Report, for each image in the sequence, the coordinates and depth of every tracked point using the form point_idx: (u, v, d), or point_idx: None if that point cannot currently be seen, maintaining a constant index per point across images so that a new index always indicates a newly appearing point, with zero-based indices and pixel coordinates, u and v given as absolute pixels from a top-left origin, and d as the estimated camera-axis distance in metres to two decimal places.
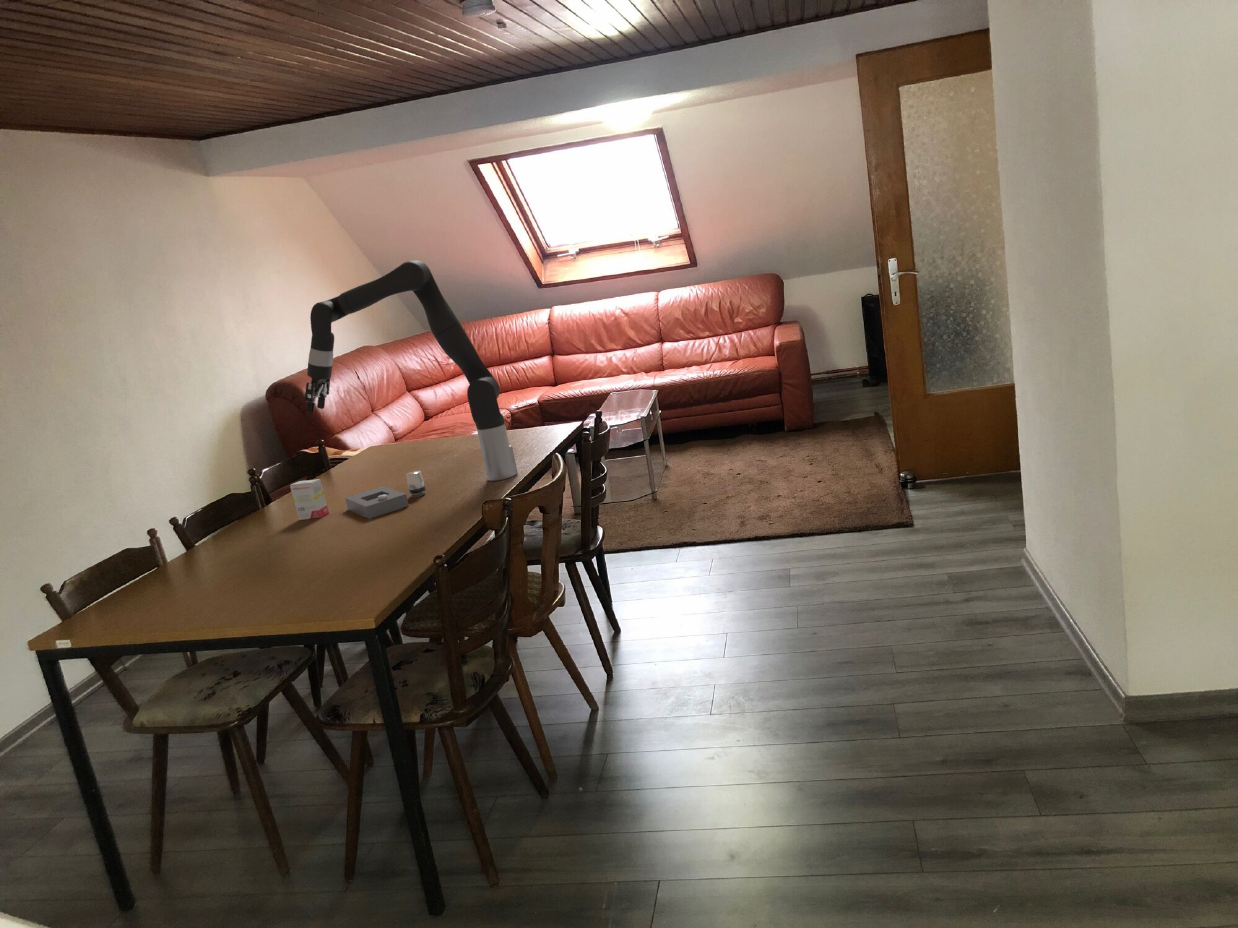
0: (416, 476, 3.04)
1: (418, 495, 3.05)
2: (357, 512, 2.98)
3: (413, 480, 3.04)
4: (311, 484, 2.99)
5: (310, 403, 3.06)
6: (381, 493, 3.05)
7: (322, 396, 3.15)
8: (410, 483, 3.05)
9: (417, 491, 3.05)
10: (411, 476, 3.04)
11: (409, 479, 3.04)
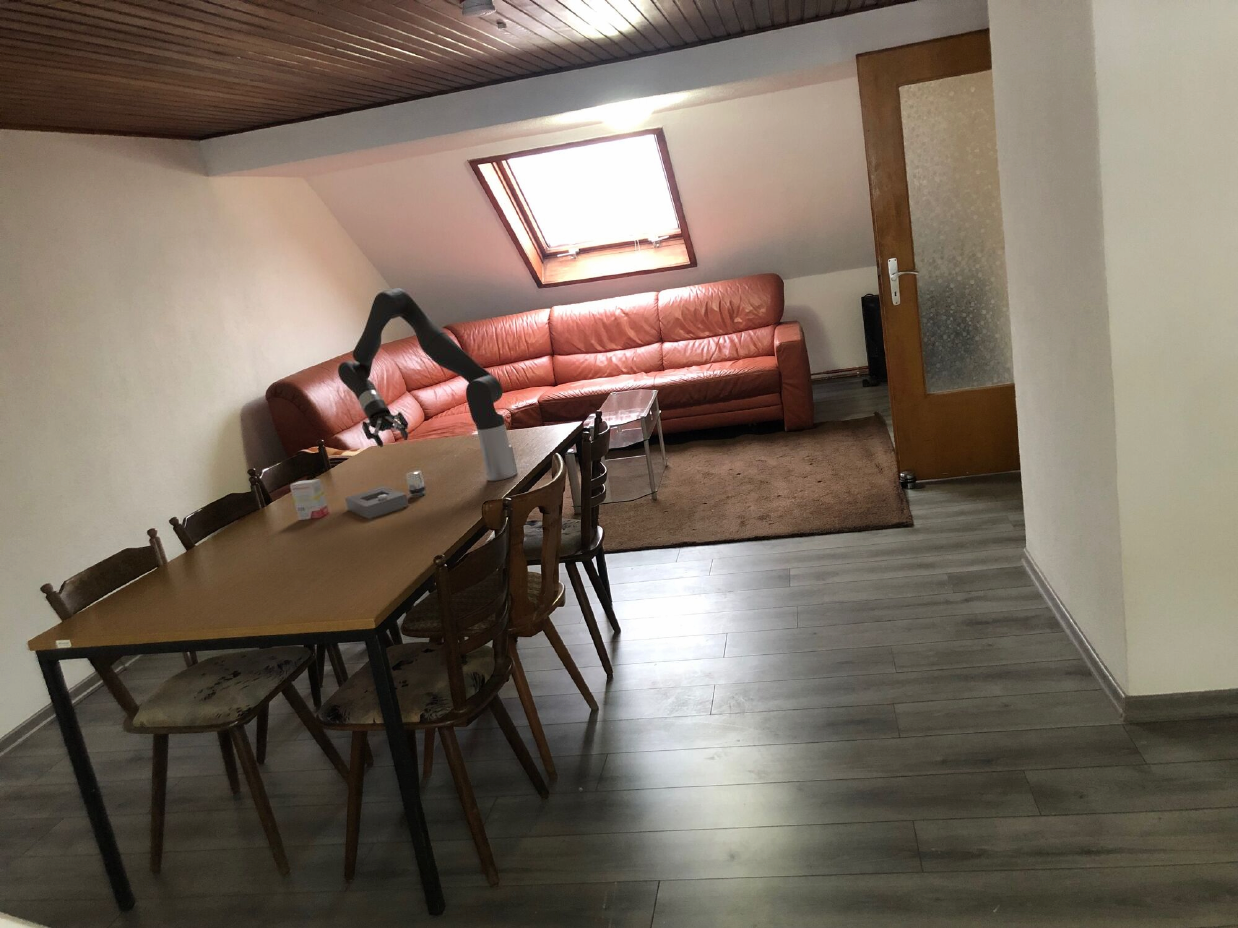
0: (416, 477, 3.04)
1: (418, 495, 3.05)
2: (357, 512, 2.98)
3: (413, 480, 3.04)
4: (311, 484, 2.99)
5: (374, 437, 3.11)
6: (381, 493, 3.05)
7: (400, 429, 3.16)
8: (410, 483, 3.05)
9: (417, 491, 3.05)
10: (411, 476, 3.04)
11: (409, 479, 3.04)
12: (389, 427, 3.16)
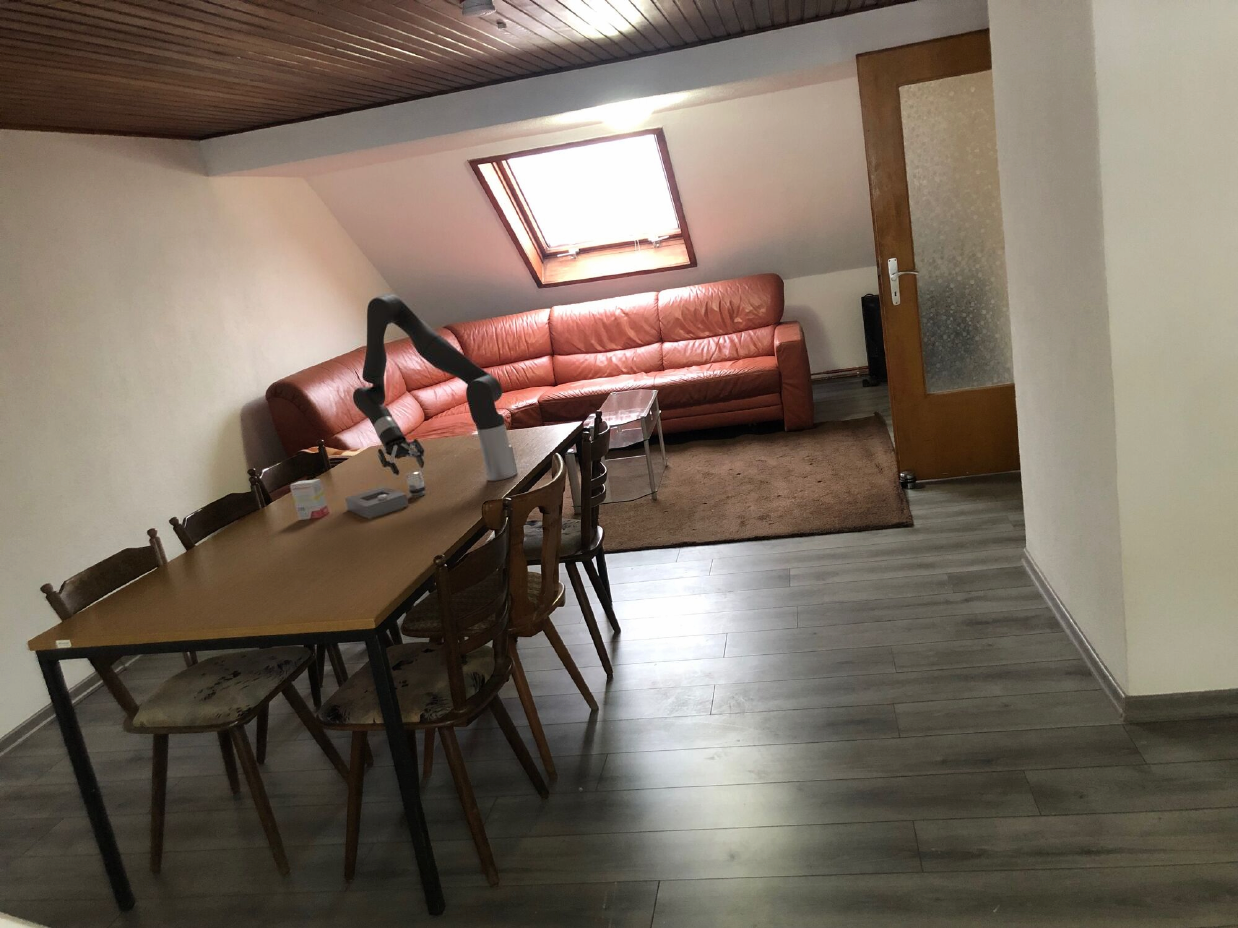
0: (416, 476, 3.04)
1: (418, 495, 3.05)
2: (357, 512, 2.98)
3: (413, 480, 3.04)
4: (311, 484, 2.99)
5: (390, 465, 3.06)
6: (381, 493, 3.05)
7: (416, 456, 3.11)
8: (410, 483, 3.05)
9: (417, 491, 3.05)
10: (411, 476, 3.04)
11: (409, 479, 3.04)
12: (405, 454, 3.11)
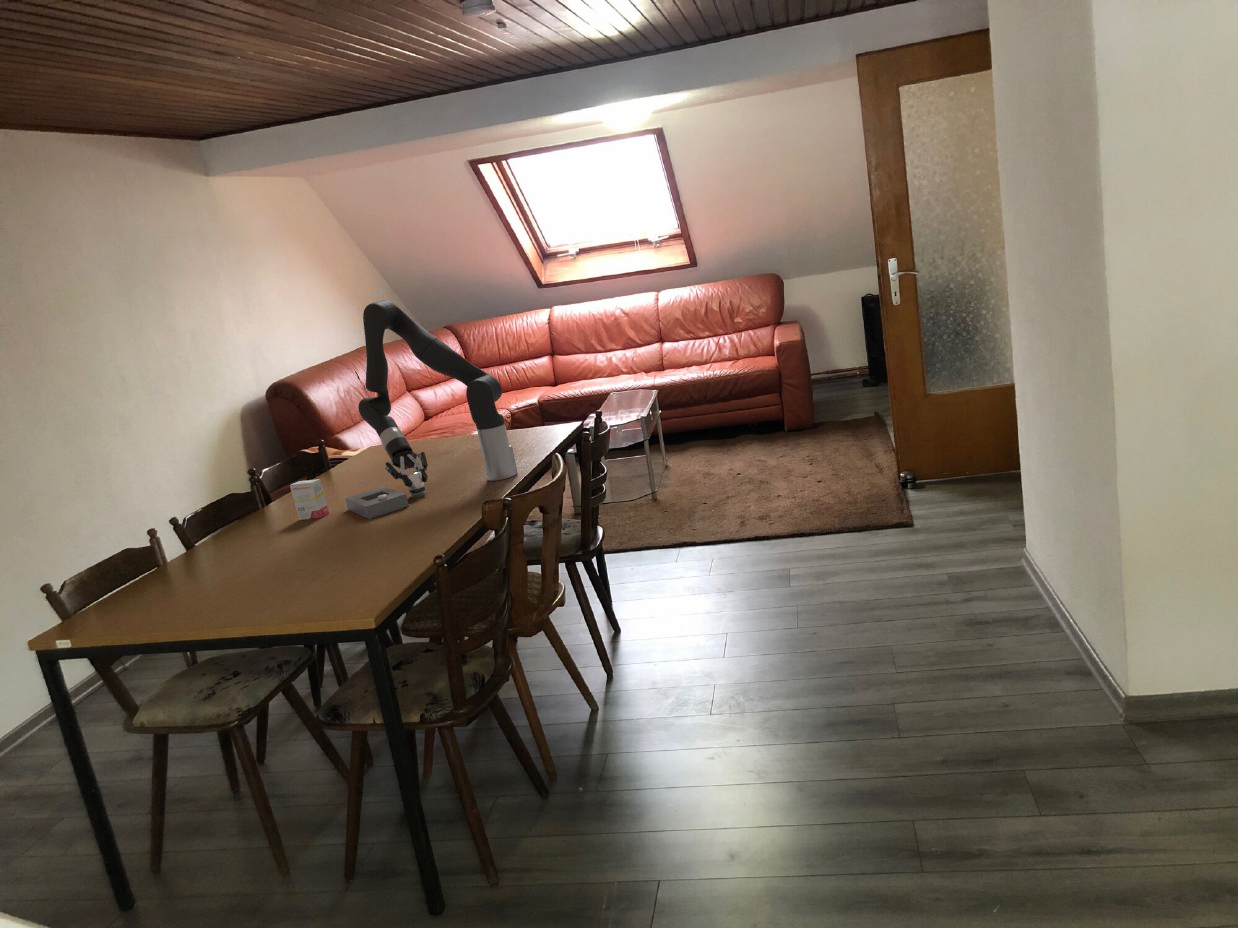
0: (416, 476, 3.04)
1: (418, 495, 3.05)
2: (357, 512, 2.98)
3: (413, 480, 3.04)
4: (311, 484, 2.99)
5: (401, 477, 3.05)
6: (381, 493, 3.05)
7: (419, 470, 3.08)
8: None
9: (417, 491, 3.05)
10: (411, 476, 3.04)
11: (409, 479, 3.04)
12: (409, 466, 3.08)
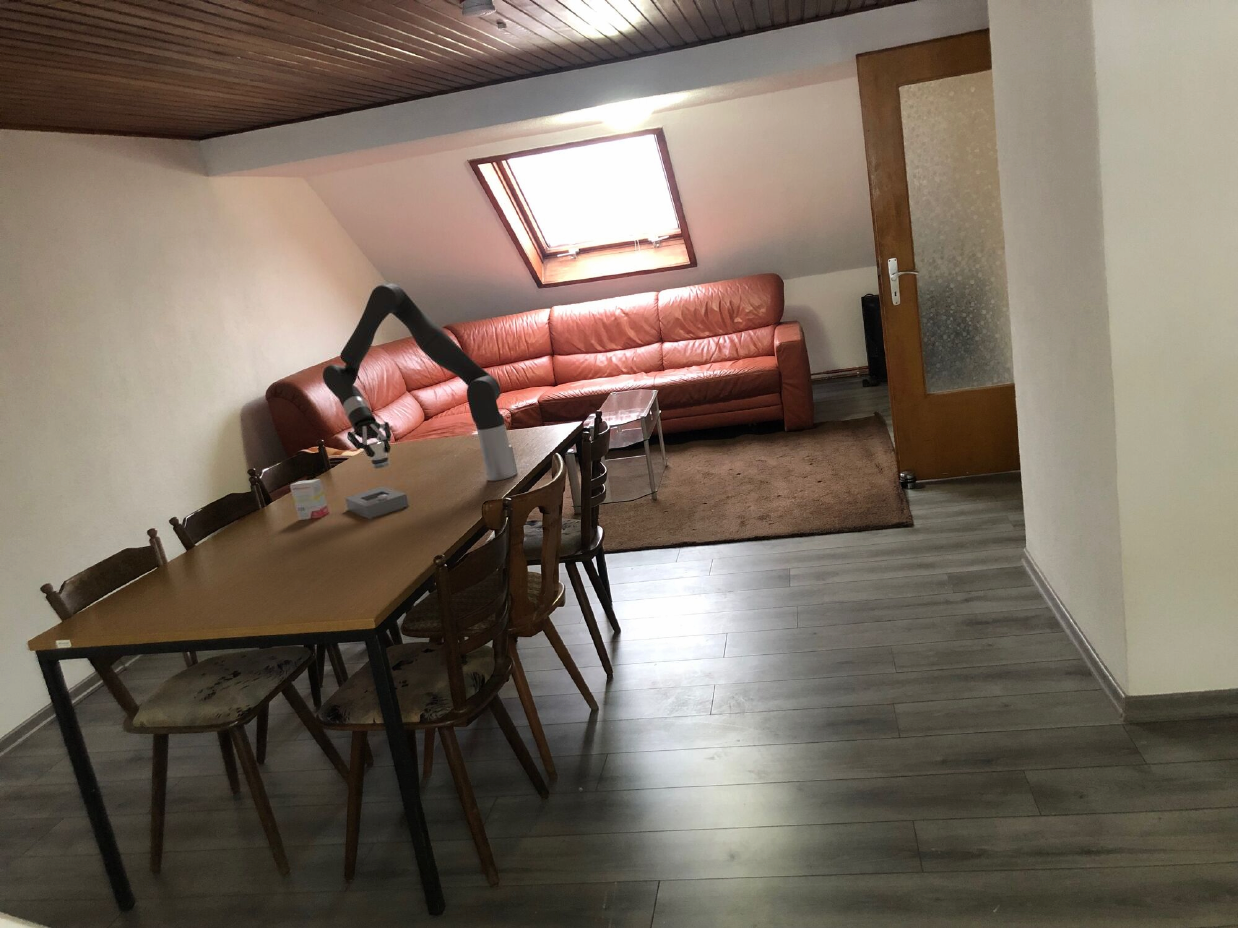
0: (378, 447, 2.97)
1: (380, 466, 2.98)
2: (357, 512, 2.98)
3: (375, 450, 2.97)
4: (311, 484, 2.99)
5: (363, 447, 2.97)
6: (381, 493, 3.05)
7: (382, 440, 3.01)
8: None
9: (379, 462, 2.98)
10: (373, 446, 2.97)
11: (371, 449, 2.97)
12: (371, 436, 3.01)
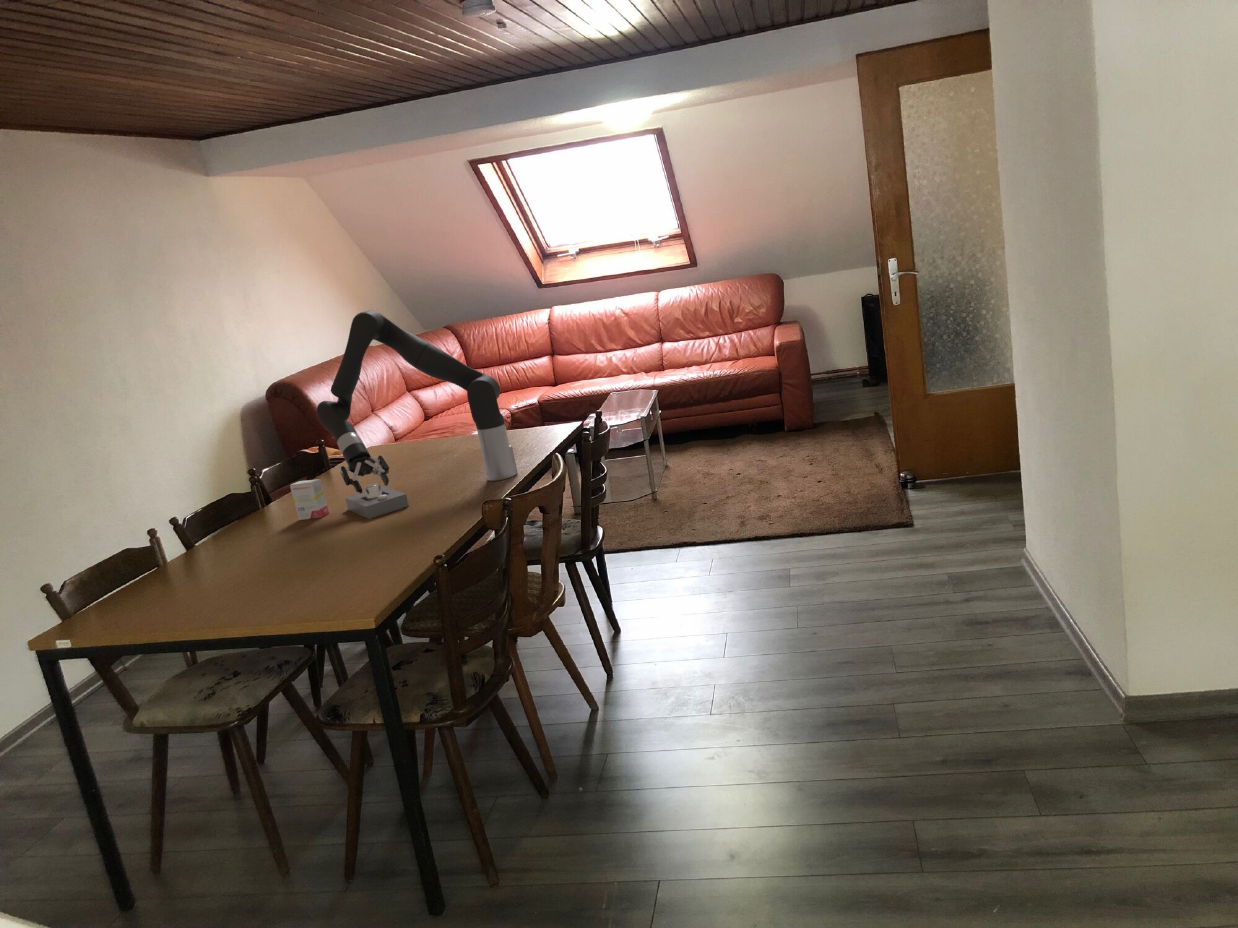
0: (374, 489, 2.97)
1: None
2: (357, 512, 2.98)
3: (371, 493, 2.97)
4: (311, 484, 2.99)
5: (353, 483, 2.97)
6: None
7: (381, 473, 3.02)
8: (368, 496, 2.98)
9: None
10: (369, 489, 2.97)
11: (367, 492, 2.97)
12: (369, 472, 3.01)
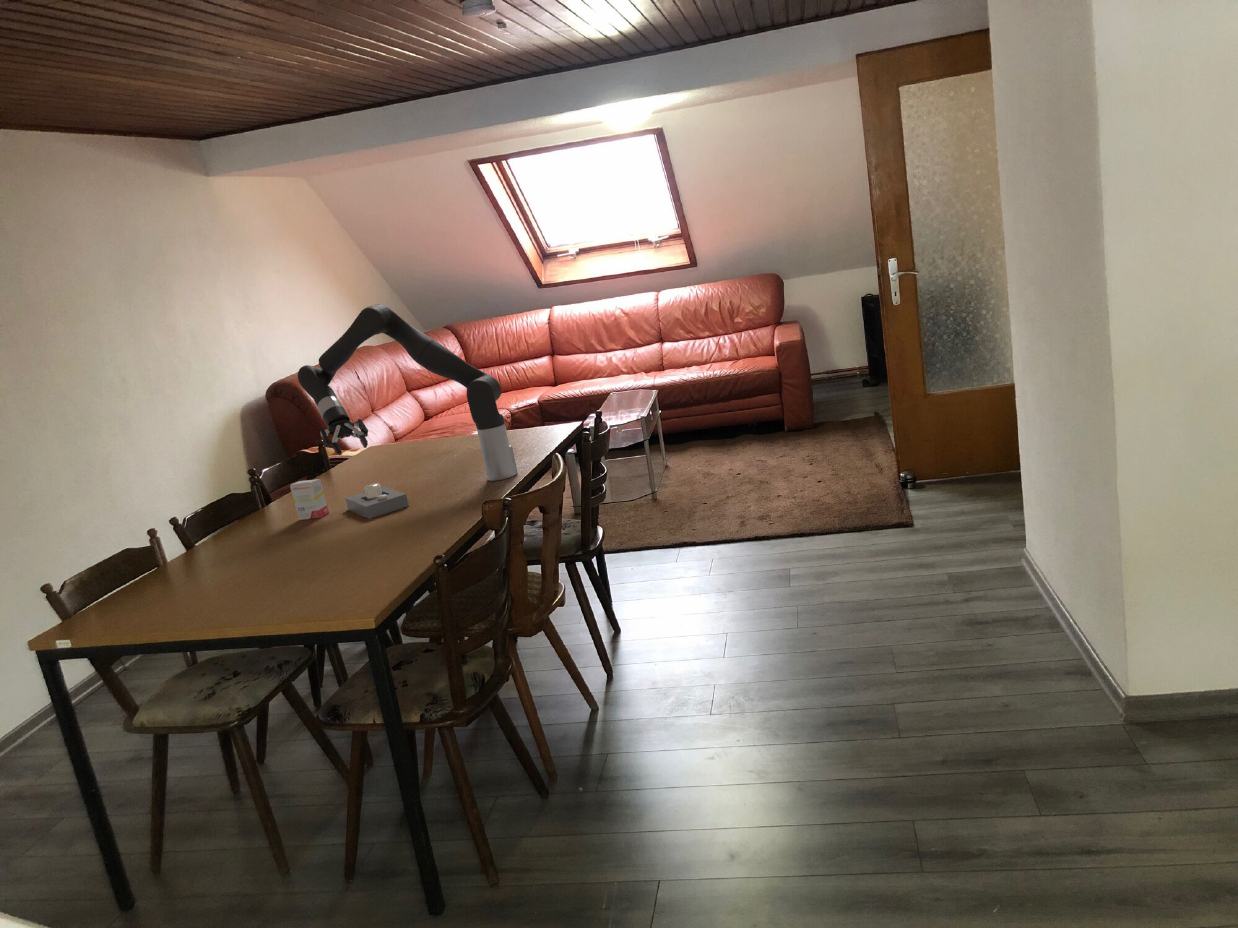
0: (374, 489, 2.97)
1: None
2: (357, 512, 2.98)
3: (371, 493, 2.97)
4: (311, 484, 2.99)
5: (332, 445, 3.03)
6: None
7: (360, 436, 3.08)
8: (368, 496, 2.98)
9: None
10: (369, 489, 2.97)
11: (367, 492, 2.97)
12: (348, 434, 3.08)
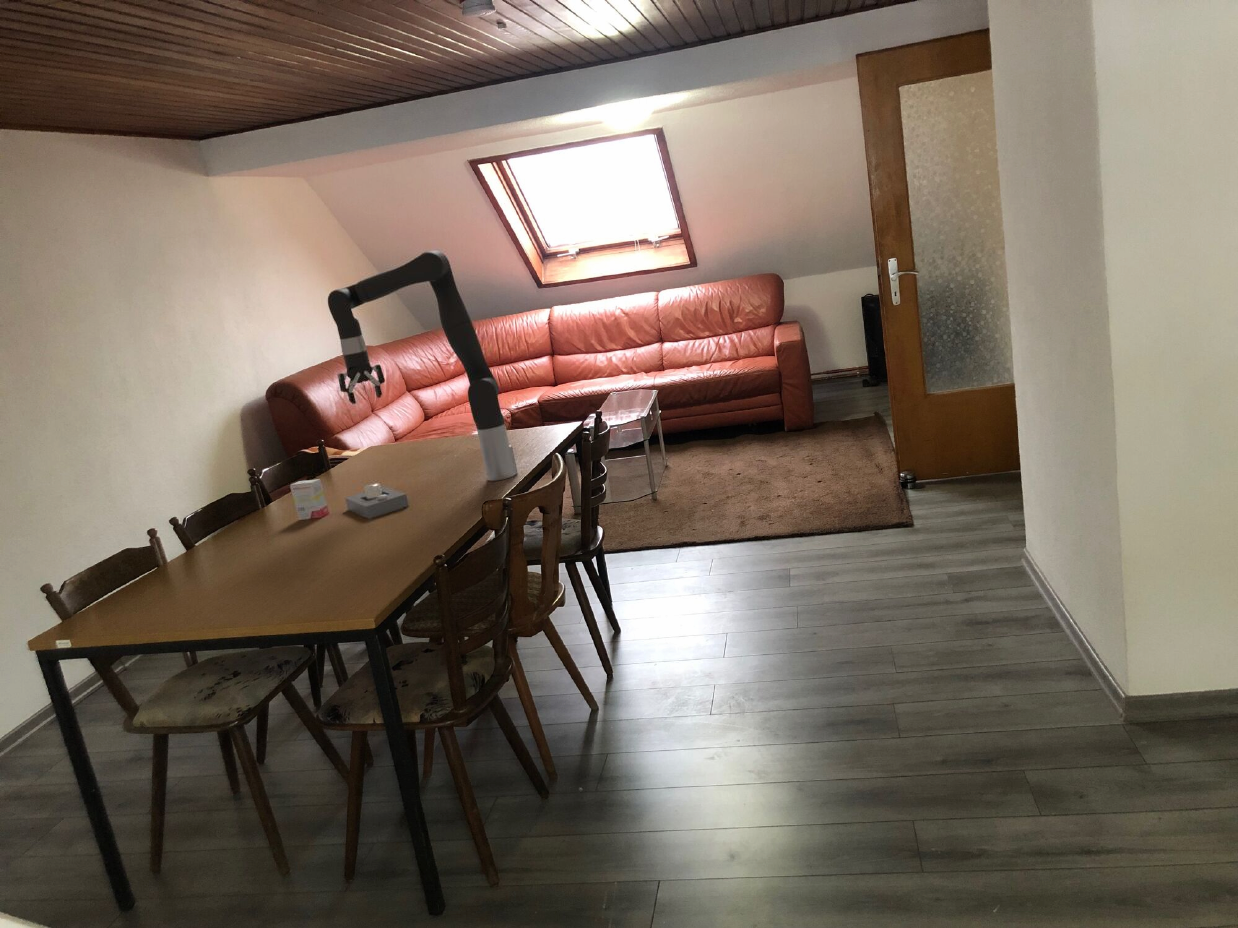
0: (374, 489, 2.97)
1: None
2: (357, 512, 2.98)
3: (371, 493, 2.97)
4: (311, 484, 2.99)
5: (348, 393, 3.05)
6: None
7: (375, 385, 3.09)
8: (368, 496, 2.98)
9: None
10: (369, 489, 2.97)
11: (367, 492, 2.97)
12: None
